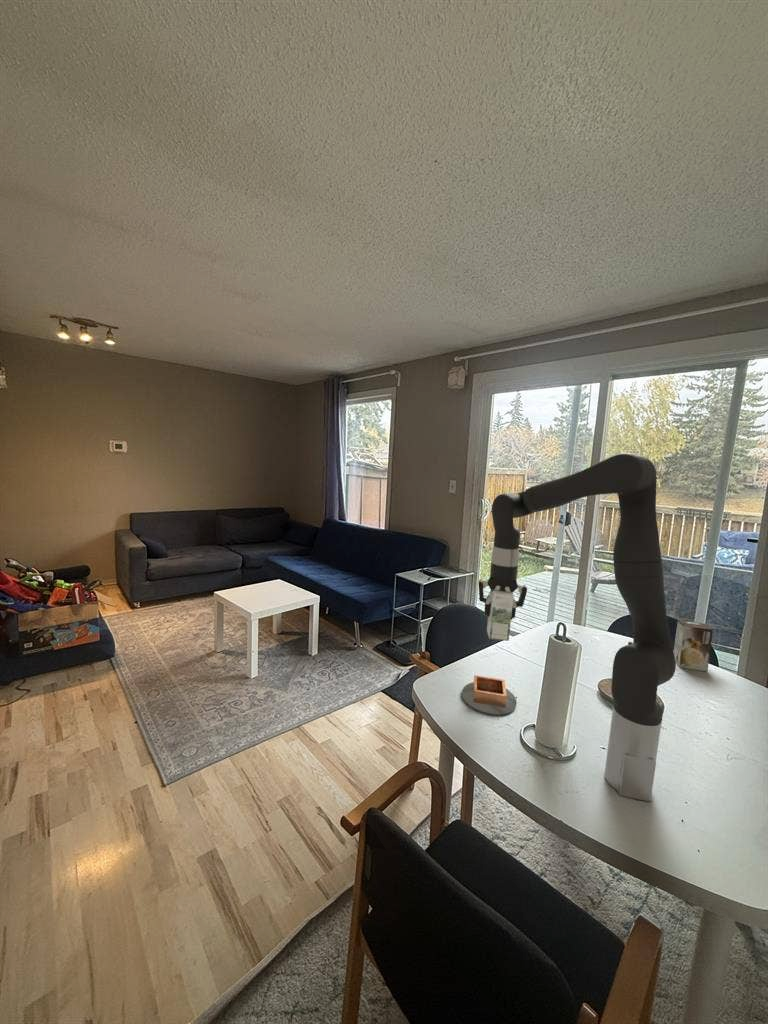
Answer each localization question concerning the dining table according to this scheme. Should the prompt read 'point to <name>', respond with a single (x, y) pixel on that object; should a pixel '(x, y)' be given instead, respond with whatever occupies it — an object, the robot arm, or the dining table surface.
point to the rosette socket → (489, 696)
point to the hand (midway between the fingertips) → (499, 617)
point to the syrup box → (500, 615)
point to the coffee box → (692, 645)
